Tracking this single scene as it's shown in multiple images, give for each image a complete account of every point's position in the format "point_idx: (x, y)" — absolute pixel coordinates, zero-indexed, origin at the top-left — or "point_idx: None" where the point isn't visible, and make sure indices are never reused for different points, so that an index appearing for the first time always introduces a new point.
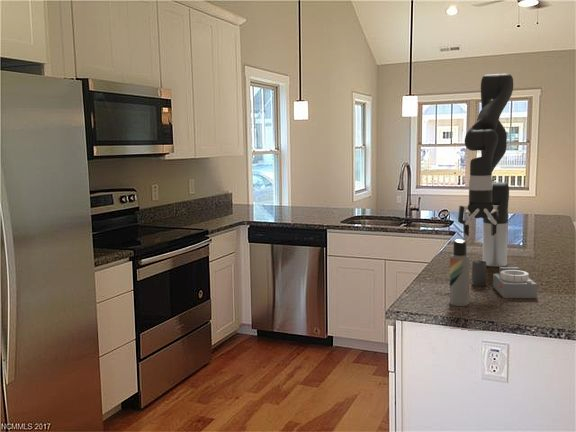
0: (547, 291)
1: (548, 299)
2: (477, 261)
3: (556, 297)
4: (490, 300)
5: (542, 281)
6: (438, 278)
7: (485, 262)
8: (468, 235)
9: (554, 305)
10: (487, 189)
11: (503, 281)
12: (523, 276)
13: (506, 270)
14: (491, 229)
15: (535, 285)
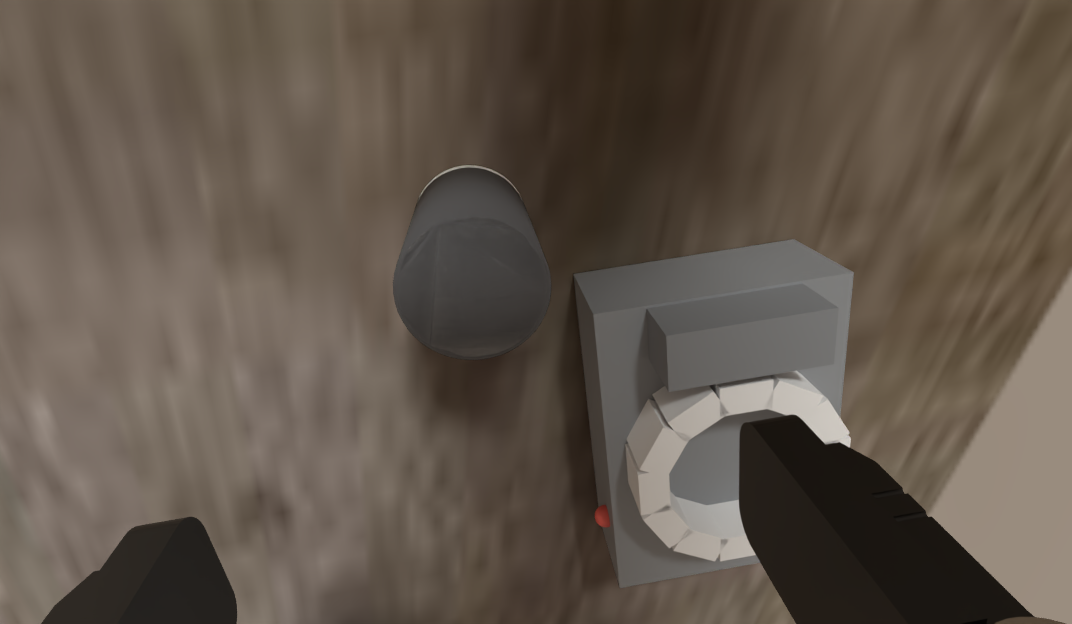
0: (904, 334)
1: None
2: (454, 265)
3: (894, 452)
4: (518, 576)
5: (1010, 26)
6: (72, 36)
7: (541, 305)
8: (231, 614)
9: None
10: None
11: (629, 531)
12: None
13: (703, 413)
14: (808, 545)
15: None
